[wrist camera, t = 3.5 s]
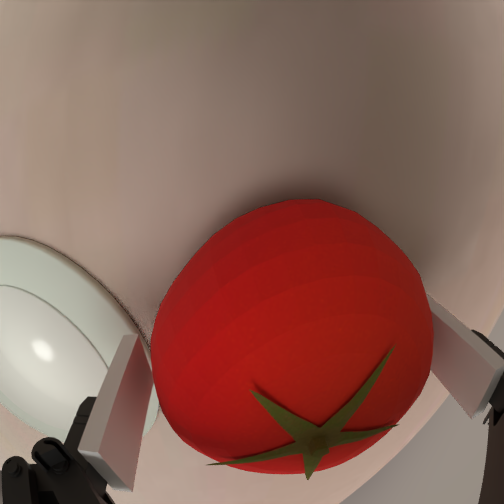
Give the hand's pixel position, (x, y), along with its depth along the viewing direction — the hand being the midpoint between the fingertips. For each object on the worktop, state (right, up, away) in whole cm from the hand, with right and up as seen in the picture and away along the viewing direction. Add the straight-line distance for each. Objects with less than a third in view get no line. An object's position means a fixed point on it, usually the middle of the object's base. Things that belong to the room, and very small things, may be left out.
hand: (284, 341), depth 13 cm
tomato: (0, +2, +4) cm, 5 cm away
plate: (-18, -4, +4) cm, 19 cm away
